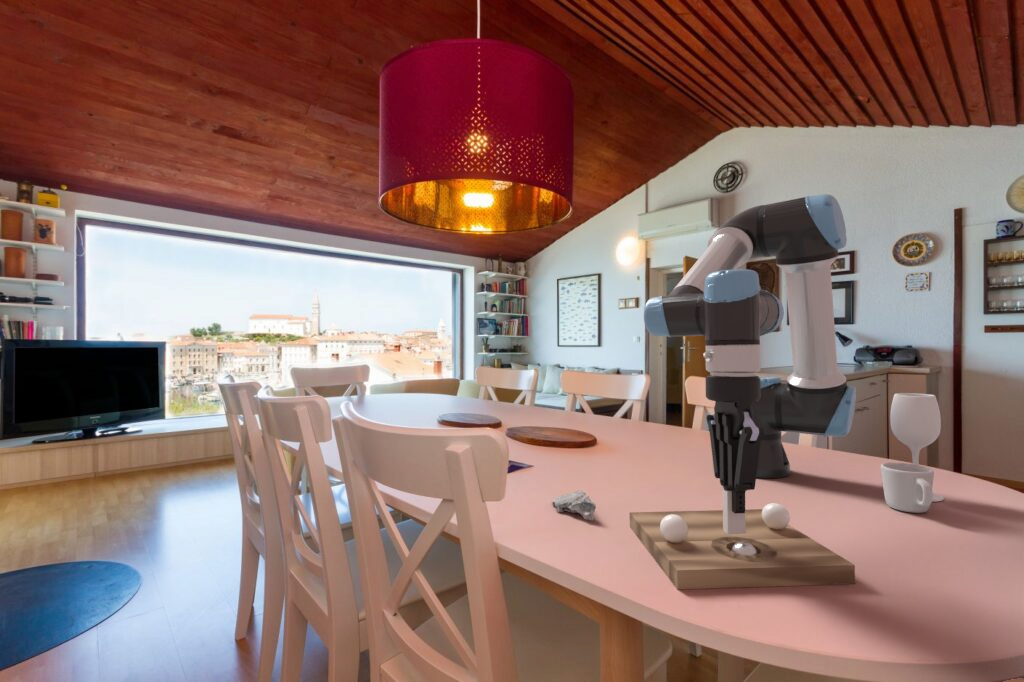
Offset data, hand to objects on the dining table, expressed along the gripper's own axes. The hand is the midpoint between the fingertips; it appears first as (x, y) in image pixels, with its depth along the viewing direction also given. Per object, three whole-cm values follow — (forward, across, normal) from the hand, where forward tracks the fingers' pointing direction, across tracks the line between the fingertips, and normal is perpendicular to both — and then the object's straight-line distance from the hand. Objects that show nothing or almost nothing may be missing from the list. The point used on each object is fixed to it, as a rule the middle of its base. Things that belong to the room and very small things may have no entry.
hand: (734, 531), depth 73 cm
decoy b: (-1, 0, -9) cm, 9 cm away
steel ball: (+2, +3, 0) cm, 4 cm away
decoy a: (-1, -4, +9) cm, 10 cm away
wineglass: (+4, -26, +52) cm, 59 cm away
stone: (+5, -22, -20) cm, 31 cm away
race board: (+4, -2, 0) cm, 5 cm away
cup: (+4, -18, +43) cm, 47 cm away
